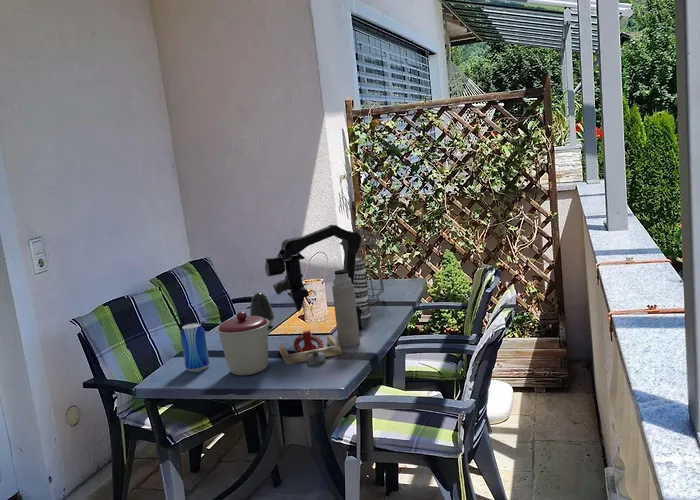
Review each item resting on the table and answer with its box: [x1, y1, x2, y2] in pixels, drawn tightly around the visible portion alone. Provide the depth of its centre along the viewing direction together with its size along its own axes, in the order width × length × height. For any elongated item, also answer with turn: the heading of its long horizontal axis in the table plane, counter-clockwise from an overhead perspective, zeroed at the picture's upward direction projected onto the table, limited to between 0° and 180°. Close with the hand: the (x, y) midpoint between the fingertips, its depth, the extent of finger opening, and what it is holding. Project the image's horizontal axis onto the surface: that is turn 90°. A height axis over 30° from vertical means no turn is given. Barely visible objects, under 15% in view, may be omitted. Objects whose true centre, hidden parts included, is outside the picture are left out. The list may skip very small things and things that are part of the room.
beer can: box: [180, 322, 210, 373], centre depth 234 cm, size 8×8×16 cm
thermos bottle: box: [331, 269, 361, 348], centre depth 242 cm, size 8×8×28 cm
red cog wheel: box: [293, 329, 324, 353], centre depth 238 cm, size 11×12×8 cm
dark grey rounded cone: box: [249, 292, 275, 328], centre depth 279 cm, size 10×10×15 cm
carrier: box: [278, 334, 343, 366], centre depth 235 cm, size 20×22×4 cm
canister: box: [215, 311, 269, 376], centre depth 225 cm, size 18×18×21 cm
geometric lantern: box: [339, 228, 385, 306], centre depth 300 cm, size 16×16×35 cm
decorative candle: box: [354, 257, 372, 320], centre depth 279 cm, size 9×9×25 cm
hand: (298, 311), depth 253 cm, fingers closed
